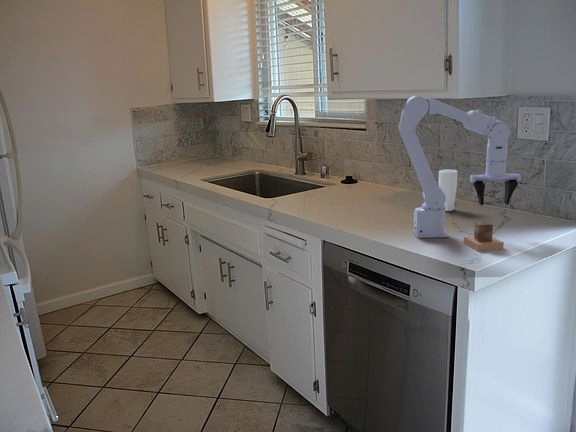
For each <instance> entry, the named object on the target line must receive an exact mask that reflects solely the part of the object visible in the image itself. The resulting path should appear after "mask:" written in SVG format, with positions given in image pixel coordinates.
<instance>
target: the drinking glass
mask: <svg viewBox="0 0 576 432" xmlns="http://www.w3.org/2000/svg"><path fill="white" fill-rule="evenodd" d="M438 186H440V188H441V189H442V192H443V193H444V194H445V197H446V201H445V203H444V205H445V212H452V211H454V210H455V204H456V195H457V186H458V170H456V169H448V168H447V169H440V170H438Z"/></svg>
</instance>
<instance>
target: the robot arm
mask: <svg viewBox="0 0 576 432" xmlns="http://www.w3.org/2000/svg"><path fill="white" fill-rule="evenodd" d="M427 114H428V116H429V115H435V114H439V115H442V116H444V117H448V118H450V119H453V120H456V121H458V122H461V123H462V125H463V128H464V129H466V130H469V131H471V132H474V133H477V134H479V135H482V136H487V145H486V160H485V161H486V162H485V173H482V174H470V177H469V182H471V183H472V185H473V187H474V189H475V191H476V195H477V198H478V204H479V205H480V206H484V199H485V189H486V184H485V182H504V197H503V198H504V199H503V203H504V204H505V205H507V206H509V205H510V201H511V198H512V196H513V194H514V191H515V190H516V189H517V187H518V186H519V182H521V181H522V174H520V173H506V172H507V160H508V139H509V137H510V136H511V133H512V131H511V128H510V126H509V124H508V123H507V122H505V121H502V120H500V119H497V117H496V116H494V115H493V116H490V115H487V114H484V113H482V110H480V109H476V110H475V109H473V110H470V111H469V110H468V111H467V112H466V111H465V110H461V109H459V108H456V107H454V106H453V105H450V104H447V103H445V102H442V101H441V100H437V99H433V98H429V97H428V98H427V97H423V96H420V95H412V96H410V97H408V98H407V100H406V102H405V103H404V105H403V107H402V109H401V115H400V118H399V120H400V121H399V123H398V132H399V135H400V137H401V140H402V141H403V145H404V147H405V149H406V152H407V154H408V157H409V159H410V161H411V164H412V166H413V168H414V171H415V173H416V175H417V178H418V180H419V182H420V183H419V184H420V185H421V188H422V192H421V193H422V198H423V200H424V202H423V203H422V204H421V207H416V208H414V211H413V230H412V231H413V233H414V234H415V236H416V238H417V239H422V238H447V237H449V235H448V234H447V233H446V231H445V223H446V221H445V220H446V211H445V205H444V203H445V201H446V197H445V194H444V193H443V192H442V189H441V188H440V186H439V184H438V183H437V182H436V179H435V176H434V174H433V171H432V170H431V167H430V164H429V162H428V160H427V158H426V155H425V152H424V149H423V147H422V145H421V142H420V140H419V137H418V135H417V132H416V129H417V127H418V124H419V123H420V121H421V120H422V119H423V118H424V116H426V115H427Z"/></svg>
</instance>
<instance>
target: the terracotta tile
mask: <svg viewBox="0 0 576 432" xmlns="http://www.w3.org/2000/svg"><path fill="white" fill-rule="evenodd" d="M463 244H464V245H466V246H467V247H469V248H470V249H472V250H474V251H476V252H485V251H487V252H488V251H495V250H496V251H497V250H504V241H502V240H500V239H498V238H496V237H494V236H492V241H485V242H478V241H477V240H476V239H475V238H474V235H472V236H470V235H469V236H464V237H463Z"/></svg>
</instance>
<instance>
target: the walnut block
mask: <svg viewBox="0 0 576 432" xmlns="http://www.w3.org/2000/svg"><path fill="white" fill-rule="evenodd" d="M493 229H494V224H493V223H492V222H490V221H487V220H485V221H483V220H482V221H474V230H473V233H474V234H473V236H474V238H475V239H476V240H477V241H478V242H485V241H492V237H493Z"/></svg>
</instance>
